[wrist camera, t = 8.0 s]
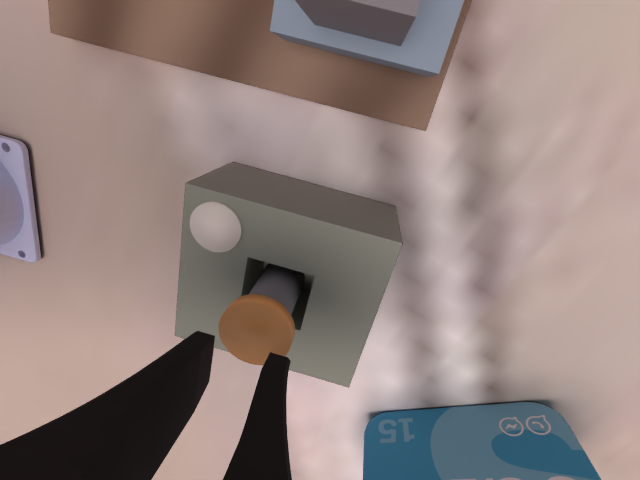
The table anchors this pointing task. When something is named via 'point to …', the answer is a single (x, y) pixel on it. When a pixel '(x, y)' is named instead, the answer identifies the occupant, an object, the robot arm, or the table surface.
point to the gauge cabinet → (287, 260)
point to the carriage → (372, 29)
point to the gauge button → (263, 316)
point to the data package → (474, 445)
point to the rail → (252, 52)
